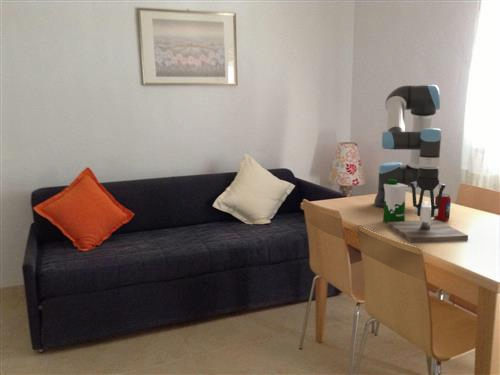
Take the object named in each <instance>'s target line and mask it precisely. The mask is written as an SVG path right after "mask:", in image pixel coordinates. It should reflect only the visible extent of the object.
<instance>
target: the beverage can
mask: <svg viewBox="0 0 500 375" xmlns="http://www.w3.org/2000/svg"><path fill="white" fill-rule="evenodd" d="M438 195H439V193H438V194H436V196H435V197H434V204H435V205H437V200H438ZM451 202H452V199H451V197H450V194H446V193H442V197H441V202H440V207H439V209H438V215H437V216H434V217H433V218H434V220H439V221H441V222H446V221H449V220H450V216H451V215H450V213H451Z"/></svg>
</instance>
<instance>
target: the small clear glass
mask: <svg viewBox="0 0 500 375" xmlns="http://www.w3.org/2000/svg"><path fill="white" fill-rule="evenodd" d="M430 227H431V224H430V226H429V225H428V222H422V225H421V226H420V228H421V229H424V230H429V229H430Z"/></svg>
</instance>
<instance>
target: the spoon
mask: <svg viewBox="0 0 500 375" xmlns="http://www.w3.org/2000/svg"><path fill="white" fill-rule="evenodd" d="M421 208H423V209H422V222H428V221H429V209H430V208H431V200H430V201H428V200H426V201H425V200H424V201H423V202H422V205H421ZM417 210H418V209H417V208H416V207H414V214H415V215H417ZM437 215H438V209H435V210H434V216H437Z"/></svg>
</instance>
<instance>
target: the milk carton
mask: <svg viewBox="0 0 500 375" xmlns="http://www.w3.org/2000/svg"><path fill="white" fill-rule="evenodd" d="M408 188H409V187H408V185H404V184H400V183H397V179H388V183H387V184H384V190H385V203H384V208H383V217H382V222H383V223H387V222H400V221H406V219H405V216H406V215H405V214H406V213H405V212H406V211H405V210H406V196H407V194H406V193H407V191H408Z"/></svg>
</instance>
